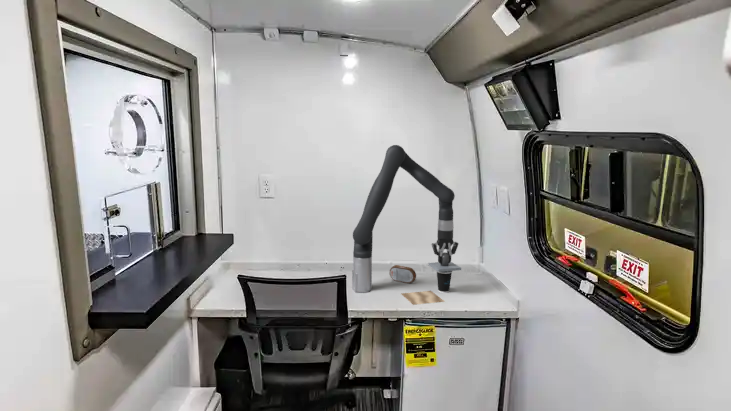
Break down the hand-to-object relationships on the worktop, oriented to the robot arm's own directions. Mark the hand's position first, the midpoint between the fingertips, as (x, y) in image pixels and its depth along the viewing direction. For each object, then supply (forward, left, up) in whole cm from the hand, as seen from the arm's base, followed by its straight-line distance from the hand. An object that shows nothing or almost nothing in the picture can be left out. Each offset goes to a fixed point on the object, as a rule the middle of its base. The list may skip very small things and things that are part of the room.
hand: (444, 262), depth 229 cm
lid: (0, 0, -2) cm, 2 cm away
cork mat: (-14, -6, -15) cm, 21 cm away
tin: (-14, +21, -15) cm, 29 cm away
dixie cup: (0, 0, -15) cm, 15 cm away
